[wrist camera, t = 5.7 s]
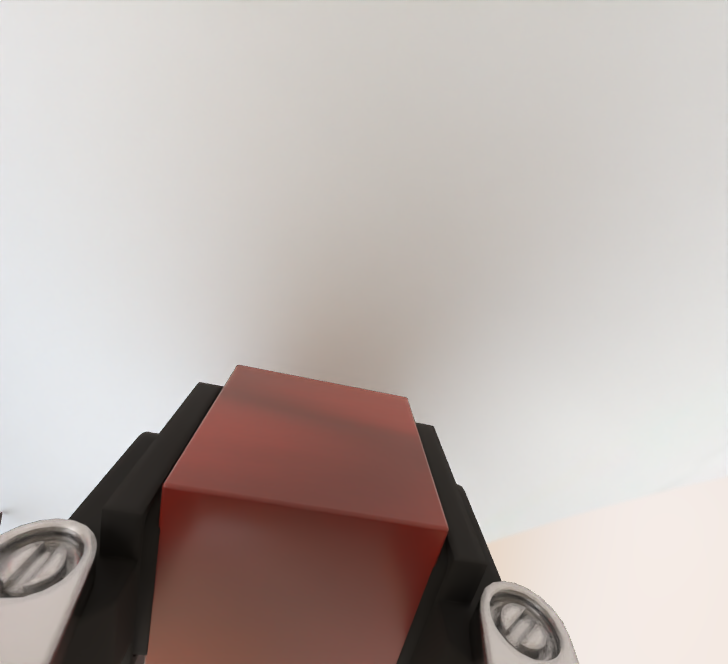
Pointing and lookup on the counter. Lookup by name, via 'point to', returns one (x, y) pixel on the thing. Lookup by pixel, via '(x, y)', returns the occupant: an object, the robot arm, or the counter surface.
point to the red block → (295, 528)
